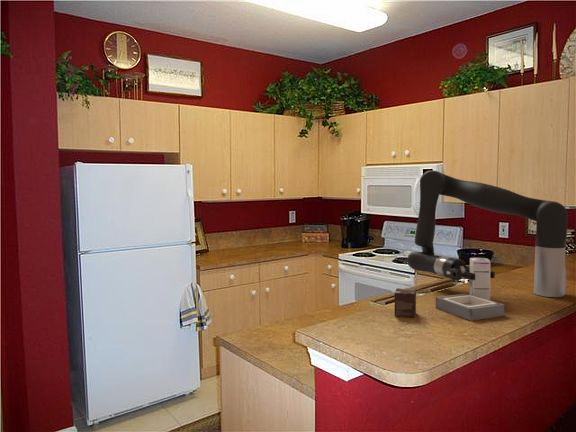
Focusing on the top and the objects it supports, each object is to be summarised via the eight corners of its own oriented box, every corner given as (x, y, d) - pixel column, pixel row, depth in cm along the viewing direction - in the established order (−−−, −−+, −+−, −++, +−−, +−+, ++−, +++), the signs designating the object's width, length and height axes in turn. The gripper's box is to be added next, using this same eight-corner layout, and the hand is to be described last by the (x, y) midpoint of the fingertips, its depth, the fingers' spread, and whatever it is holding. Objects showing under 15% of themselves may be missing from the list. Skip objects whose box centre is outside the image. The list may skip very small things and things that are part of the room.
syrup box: (490, 304, 147) (491, 260, 146) (471, 303, 148) (472, 260, 147) (486, 299, 153) (487, 257, 152) (468, 299, 154) (469, 257, 153)
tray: (467, 303, 148) (467, 293, 148) (504, 315, 134) (504, 304, 134) (435, 307, 143) (435, 297, 143) (470, 320, 130) (470, 309, 129)
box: (416, 312, 138) (416, 289, 138) (415, 318, 132) (415, 293, 132) (396, 311, 140) (396, 287, 140) (394, 316, 134) (394, 292, 134)
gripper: (434, 258, 161) (467, 266, 145) (465, 256, 166) (500, 263, 151) (433, 279, 161) (467, 289, 146) (464, 276, 166) (500, 285, 151)
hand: (484, 276), depth 148 cm, fingers closed on syrup box, 8 cm apart
